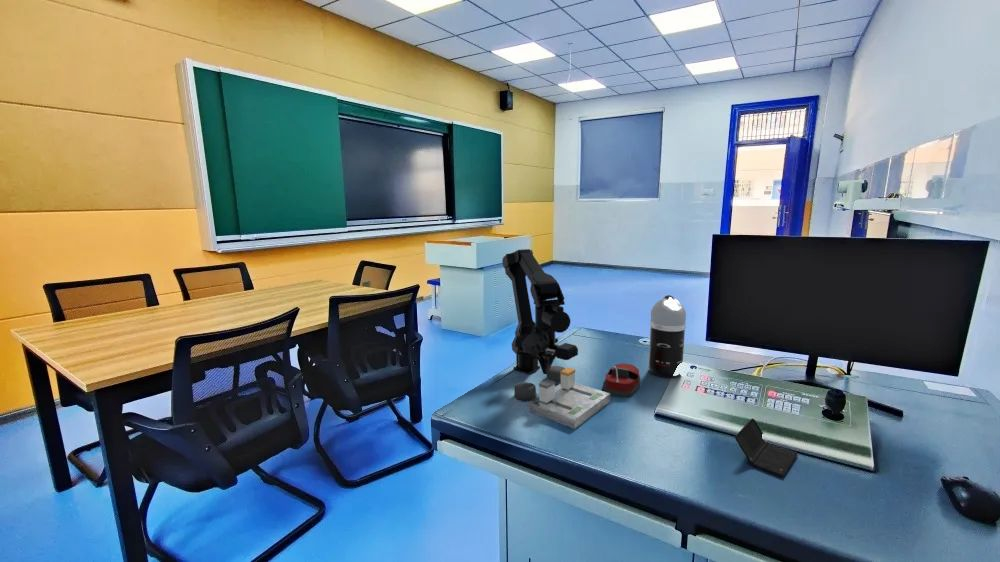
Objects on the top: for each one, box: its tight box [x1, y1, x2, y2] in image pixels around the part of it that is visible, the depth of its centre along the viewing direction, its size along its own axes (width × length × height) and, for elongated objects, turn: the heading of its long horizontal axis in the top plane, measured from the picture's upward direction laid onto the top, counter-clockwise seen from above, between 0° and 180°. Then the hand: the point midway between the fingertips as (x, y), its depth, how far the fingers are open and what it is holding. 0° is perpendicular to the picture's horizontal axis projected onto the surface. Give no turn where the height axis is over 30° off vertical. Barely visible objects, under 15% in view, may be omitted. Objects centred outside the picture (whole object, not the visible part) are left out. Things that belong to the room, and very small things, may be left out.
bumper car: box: [602, 362, 641, 399], centre depth 124 cm, size 10×20×10 cm, turn 153°
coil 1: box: [514, 381, 537, 402], centre depth 120 cm, size 6×6×3 cm
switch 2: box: [560, 367, 576, 390], centre depth 119 cm, size 2×4×5 cm
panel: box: [528, 382, 611, 430], centre depth 114 cm, size 14×18×3 cm
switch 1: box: [538, 378, 556, 403], centre depth 112 cm, size 2×4×5 cm
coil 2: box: [546, 365, 566, 384], centre depth 131 cm, size 6×6×3 cm
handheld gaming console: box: [734, 418, 798, 479], centre depth 90 cm, size 12×7×10 cm
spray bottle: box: [648, 294, 687, 378], centre depth 132 cm, size 10×10×25 cm
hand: (545, 373), depth 124 cm, fingers closed
